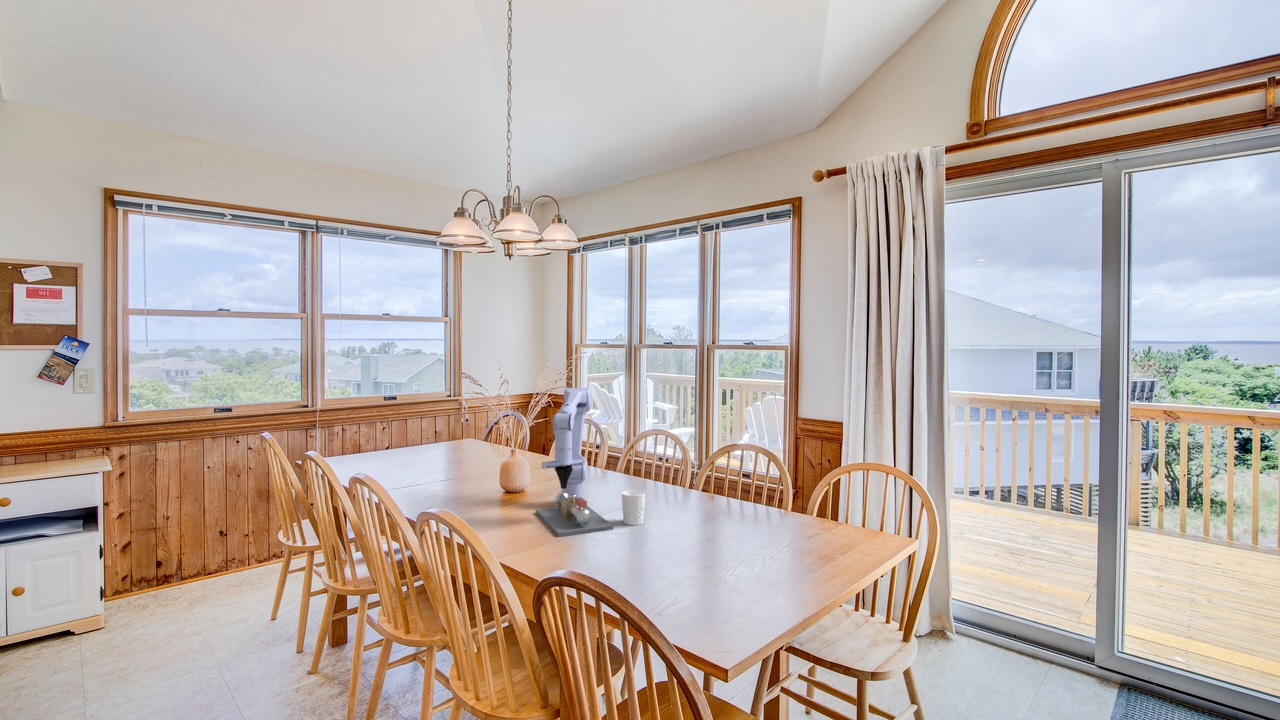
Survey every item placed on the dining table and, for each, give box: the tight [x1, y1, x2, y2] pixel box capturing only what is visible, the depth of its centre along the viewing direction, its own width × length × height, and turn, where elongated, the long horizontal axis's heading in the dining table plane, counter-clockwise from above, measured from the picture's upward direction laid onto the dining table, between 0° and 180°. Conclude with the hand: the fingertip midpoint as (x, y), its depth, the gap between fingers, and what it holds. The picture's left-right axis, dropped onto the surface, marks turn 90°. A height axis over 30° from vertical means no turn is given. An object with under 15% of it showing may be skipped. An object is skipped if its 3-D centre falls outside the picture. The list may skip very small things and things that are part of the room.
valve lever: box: [569, 494, 588, 508], centre depth 190 cm, size 12×3×2 cm, turn 26°
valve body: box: [555, 491, 592, 526], centre depth 194 cm, size 25×6×6 cm, turn 24°
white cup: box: [621, 489, 646, 526], centre depth 193 cm, size 8×8×10 cm
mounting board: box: [535, 505, 614, 538], centre depth 195 cm, size 28×18×1 cm, turn 24°
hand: (563, 488), depth 197 cm, fingers closed
